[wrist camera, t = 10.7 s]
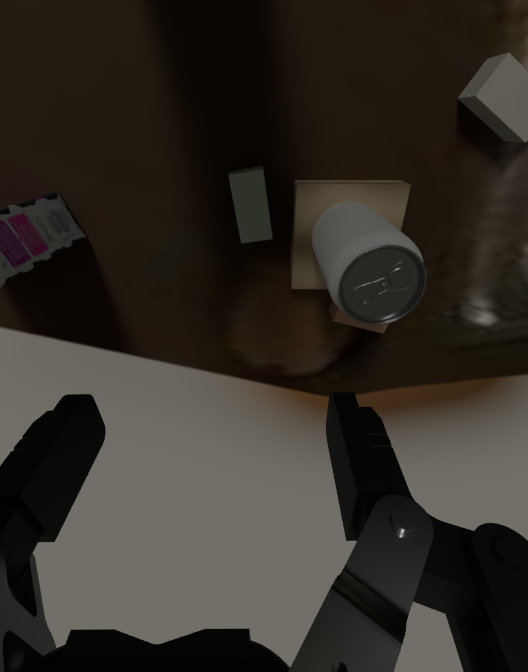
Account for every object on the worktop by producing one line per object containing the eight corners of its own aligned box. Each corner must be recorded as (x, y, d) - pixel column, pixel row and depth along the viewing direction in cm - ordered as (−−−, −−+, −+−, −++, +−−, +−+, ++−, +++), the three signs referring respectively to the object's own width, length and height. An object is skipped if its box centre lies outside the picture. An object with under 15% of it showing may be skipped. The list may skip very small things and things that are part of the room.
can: (389, 248, 32) (445, 304, 22) (327, 279, 34) (354, 345, 24) (365, 185, 29) (417, 217, 19) (299, 223, 31) (315, 270, 21)
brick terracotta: (328, 308, 39) (332, 321, 36) (338, 285, 37) (343, 297, 35) (375, 320, 40) (383, 333, 37) (387, 298, 38) (395, 310, 36)
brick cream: (503, 141, 30) (533, 106, 28) (525, 142, 27) (559, 104, 26) (456, 98, 28) (485, 59, 27) (475, 95, 26) (508, 52, 24)
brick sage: (231, 170, 31) (228, 174, 29) (263, 165, 31) (262, 169, 28) (243, 234, 34) (241, 243, 32) (272, 230, 34) (272, 239, 32)
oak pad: (294, 180, 31) (296, 184, 29) (401, 180, 31) (410, 184, 29) (289, 279, 37) (291, 289, 35) (380, 279, 37) (387, 289, 35)
